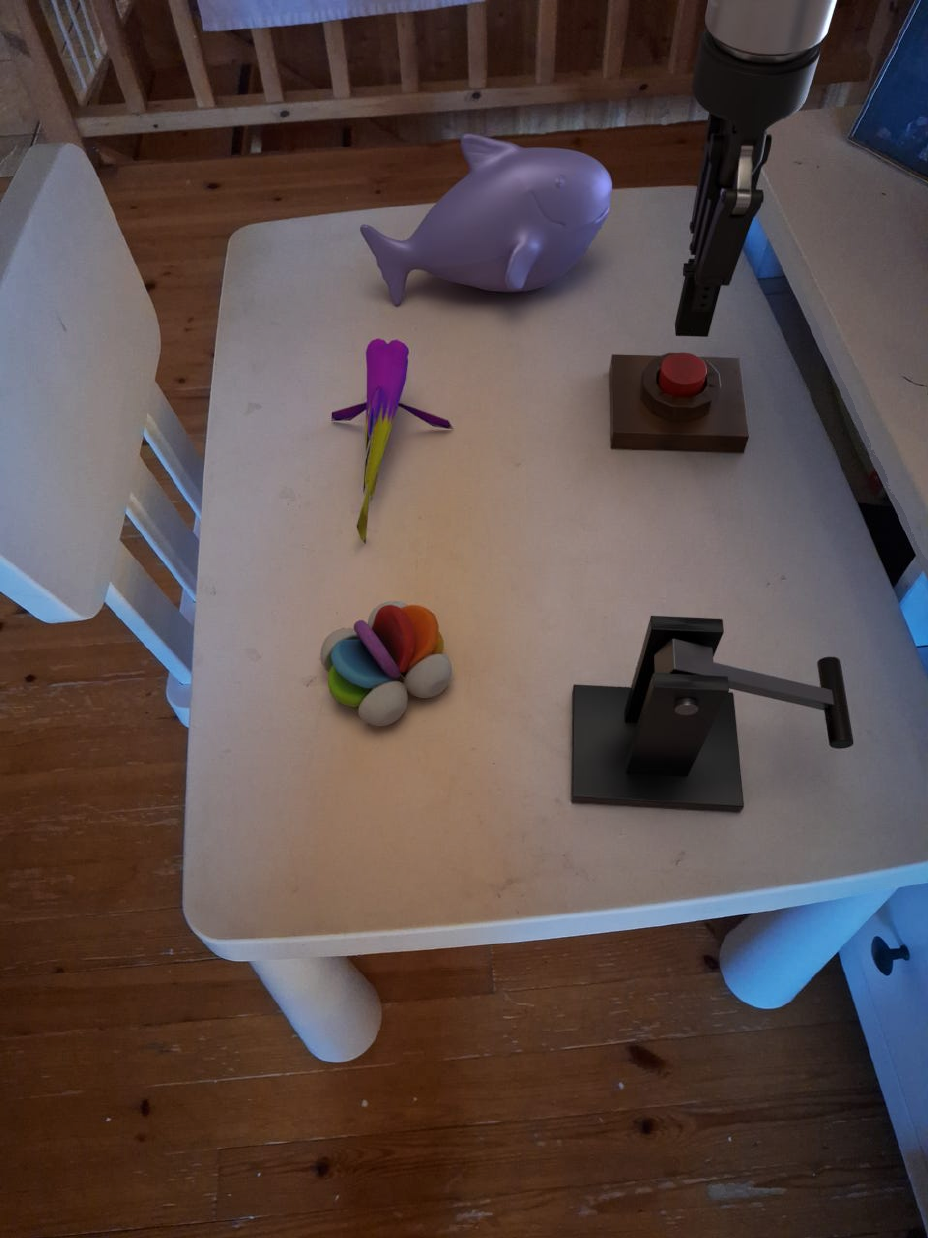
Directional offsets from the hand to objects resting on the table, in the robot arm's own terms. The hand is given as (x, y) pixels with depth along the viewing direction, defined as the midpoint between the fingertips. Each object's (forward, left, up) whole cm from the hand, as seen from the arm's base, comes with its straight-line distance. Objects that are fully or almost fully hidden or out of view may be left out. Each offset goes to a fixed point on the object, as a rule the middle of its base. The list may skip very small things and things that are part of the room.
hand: (691, 329), depth 77 cm
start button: (0, 0, -6) cm, 6 cm away
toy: (+23, +16, -10) cm, 30 cm away
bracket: (-7, +34, -9) cm, 36 cm away
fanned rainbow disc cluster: (+14, +35, -10) cm, 39 cm away
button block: (0, 0, -9) cm, 9 cm away
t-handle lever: (-11, +33, +1) cm, 35 cm away
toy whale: (+22, -11, -10) cm, 27 cm away
